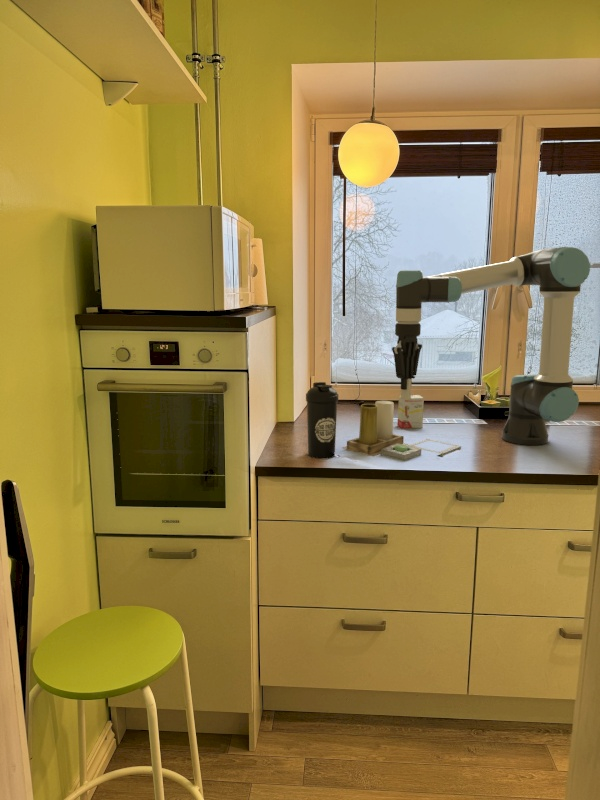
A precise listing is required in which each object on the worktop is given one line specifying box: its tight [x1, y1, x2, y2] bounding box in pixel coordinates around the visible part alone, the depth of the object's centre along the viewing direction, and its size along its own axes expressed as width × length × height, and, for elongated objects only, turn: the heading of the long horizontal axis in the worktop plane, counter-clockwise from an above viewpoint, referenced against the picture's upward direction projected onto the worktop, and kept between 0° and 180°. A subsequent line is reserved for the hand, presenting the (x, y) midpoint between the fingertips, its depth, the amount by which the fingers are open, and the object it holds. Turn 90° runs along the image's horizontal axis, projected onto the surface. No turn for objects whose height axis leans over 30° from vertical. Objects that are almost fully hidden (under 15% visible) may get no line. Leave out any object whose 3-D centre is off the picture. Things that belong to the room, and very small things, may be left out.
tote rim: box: [406, 438, 462, 458], centre depth 194 cm, size 13×12×1 cm
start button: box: [395, 445, 408, 452], centre depth 184 cm, size 4×4×2 cm
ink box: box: [397, 394, 425, 429], centre depth 223 cm, size 9×5×12 cm, turn 99°
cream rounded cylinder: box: [374, 400, 395, 440], centre depth 195 cm, size 6×6×14 cm
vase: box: [358, 403, 377, 446], centre depth 189 cm, size 6×6×14 cm
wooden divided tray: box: [342, 433, 409, 457], centre depth 194 cm, size 13×19×4 cm
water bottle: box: [305, 381, 339, 460], centre depth 186 cm, size 10×10×23 cm
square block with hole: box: [380, 443, 422, 462], centre depth 184 cm, size 9×9×3 cm
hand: (405, 399), depth 182 cm, fingers closed
